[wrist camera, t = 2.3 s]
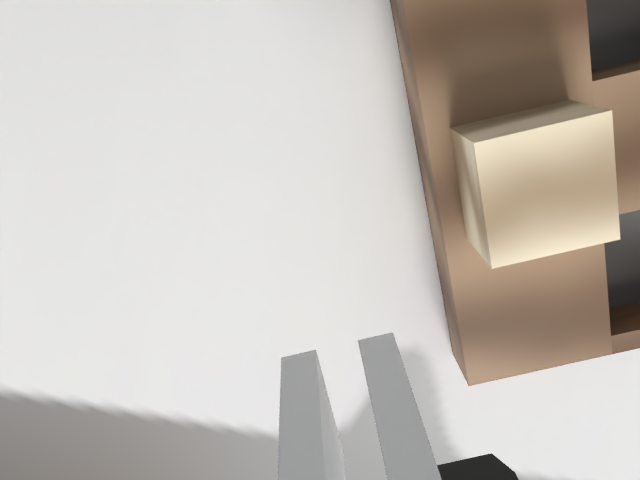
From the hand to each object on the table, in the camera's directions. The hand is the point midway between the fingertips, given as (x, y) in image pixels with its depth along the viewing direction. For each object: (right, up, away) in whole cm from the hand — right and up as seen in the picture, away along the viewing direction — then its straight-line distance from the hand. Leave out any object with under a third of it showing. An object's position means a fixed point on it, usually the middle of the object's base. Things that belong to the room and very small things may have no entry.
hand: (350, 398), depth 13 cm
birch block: (+8, +6, +12) cm, 16 cm away
